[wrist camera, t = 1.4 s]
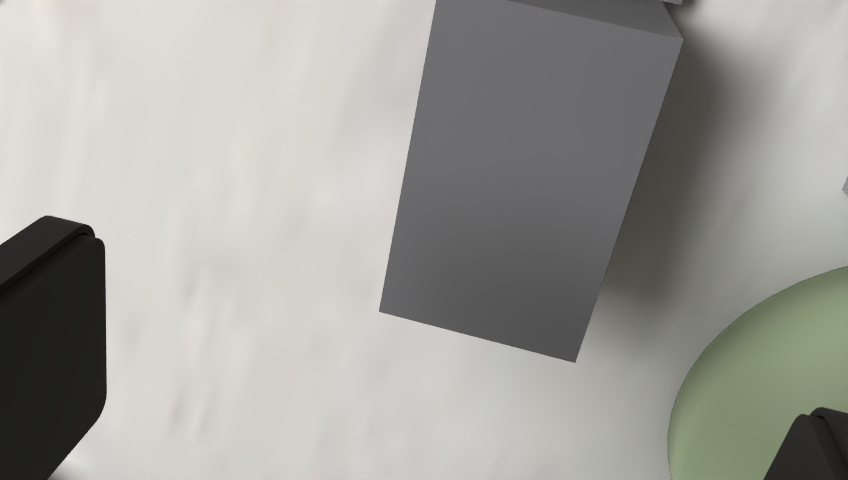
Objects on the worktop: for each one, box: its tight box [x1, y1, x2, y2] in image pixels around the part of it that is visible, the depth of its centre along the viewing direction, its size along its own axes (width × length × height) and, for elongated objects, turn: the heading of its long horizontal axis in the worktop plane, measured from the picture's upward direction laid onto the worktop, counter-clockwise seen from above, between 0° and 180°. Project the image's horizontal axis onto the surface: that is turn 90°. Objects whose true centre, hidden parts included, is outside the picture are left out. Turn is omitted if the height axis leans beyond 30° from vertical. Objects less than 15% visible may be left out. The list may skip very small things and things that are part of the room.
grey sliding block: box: [379, 0, 684, 363], centre depth 20 cm, size 6×10×6 cm, turn 170°
